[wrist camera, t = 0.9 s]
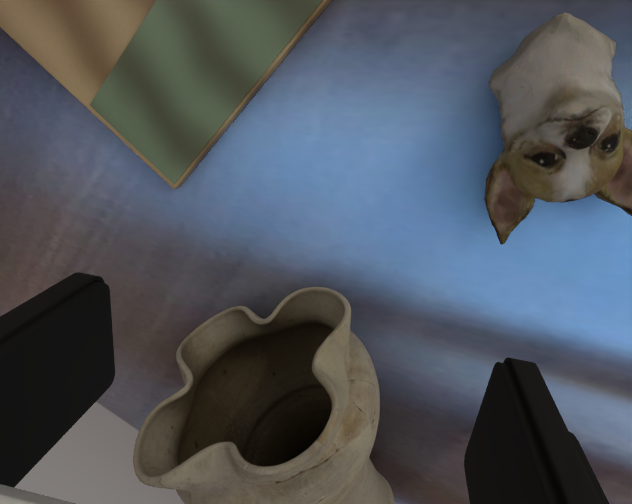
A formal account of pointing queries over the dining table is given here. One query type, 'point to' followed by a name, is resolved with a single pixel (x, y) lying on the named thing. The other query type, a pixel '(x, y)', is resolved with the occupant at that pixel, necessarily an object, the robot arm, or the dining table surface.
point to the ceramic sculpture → (558, 124)
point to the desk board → (161, 64)
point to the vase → (269, 410)
